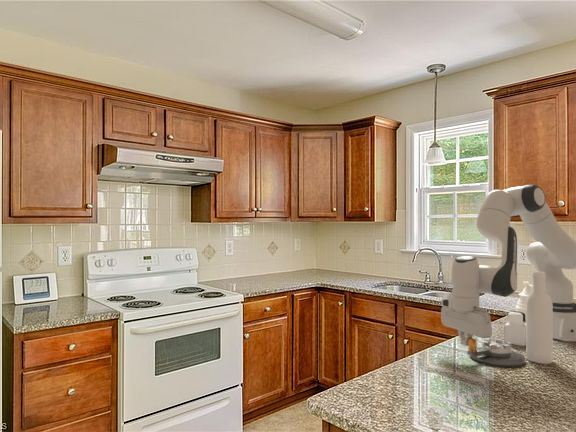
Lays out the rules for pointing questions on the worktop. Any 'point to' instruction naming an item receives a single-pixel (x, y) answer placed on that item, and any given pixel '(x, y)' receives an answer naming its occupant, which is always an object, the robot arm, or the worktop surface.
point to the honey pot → (524, 298)
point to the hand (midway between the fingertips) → (465, 344)
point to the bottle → (539, 323)
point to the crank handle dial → (489, 348)
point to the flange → (500, 360)
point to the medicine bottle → (515, 328)
